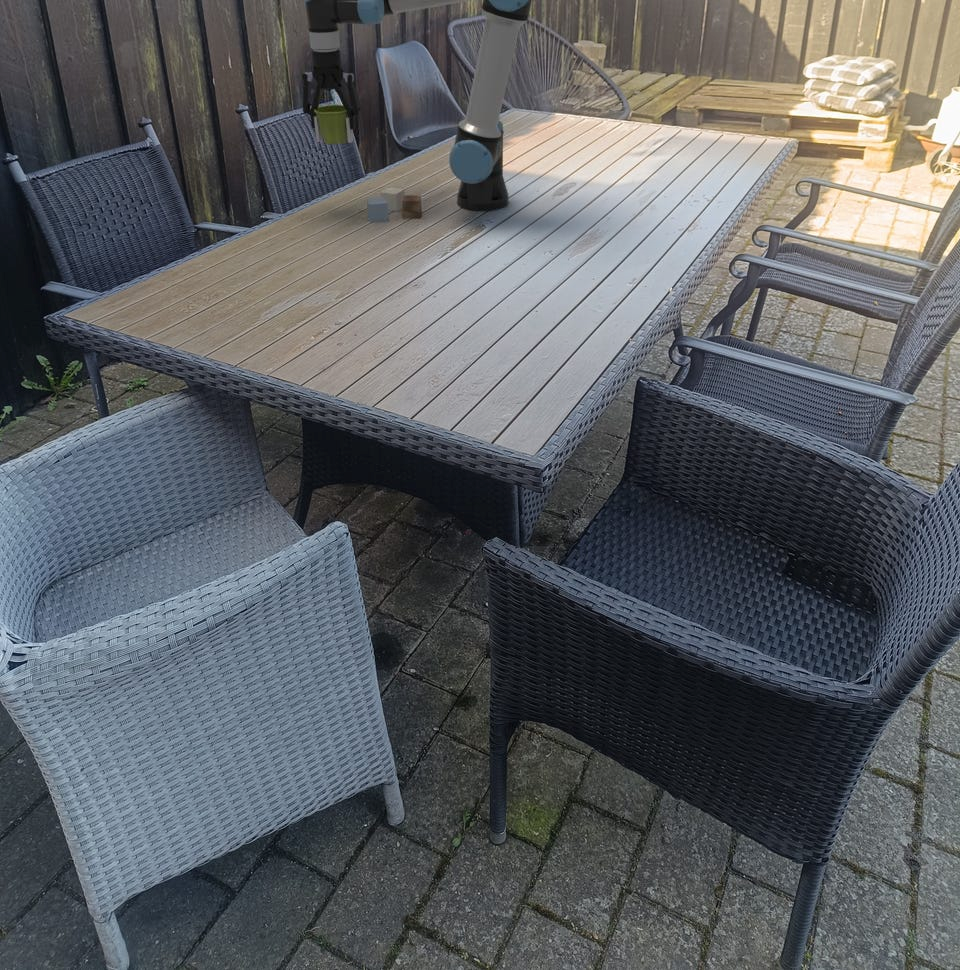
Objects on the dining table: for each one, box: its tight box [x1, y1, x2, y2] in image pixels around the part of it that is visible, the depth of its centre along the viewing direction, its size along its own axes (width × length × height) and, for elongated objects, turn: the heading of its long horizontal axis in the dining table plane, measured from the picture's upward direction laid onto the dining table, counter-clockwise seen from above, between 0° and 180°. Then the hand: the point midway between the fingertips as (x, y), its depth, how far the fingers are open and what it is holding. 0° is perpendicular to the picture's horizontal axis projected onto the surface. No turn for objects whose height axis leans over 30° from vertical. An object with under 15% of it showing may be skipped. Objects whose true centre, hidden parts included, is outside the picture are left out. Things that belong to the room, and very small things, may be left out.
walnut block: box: [402, 194, 423, 220], centre depth 238 cm, size 5×5×5 cm
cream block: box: [380, 187, 406, 212], centre depth 243 cm, size 5×5×5 cm
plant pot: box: [314, 104, 348, 146], centre depth 229 cm, size 9×9×9 cm
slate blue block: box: [365, 197, 389, 223], centre depth 236 cm, size 5×5×5 cm
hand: (335, 141), depth 231 cm, fingers closed on plant pot, 8 cm apart
